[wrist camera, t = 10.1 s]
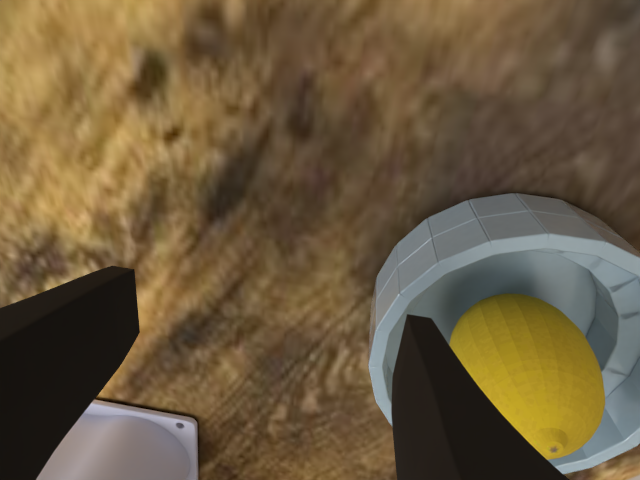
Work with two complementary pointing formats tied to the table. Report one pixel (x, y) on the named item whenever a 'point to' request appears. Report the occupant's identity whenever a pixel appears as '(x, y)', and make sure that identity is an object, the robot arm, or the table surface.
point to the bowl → (521, 278)
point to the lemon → (533, 370)
